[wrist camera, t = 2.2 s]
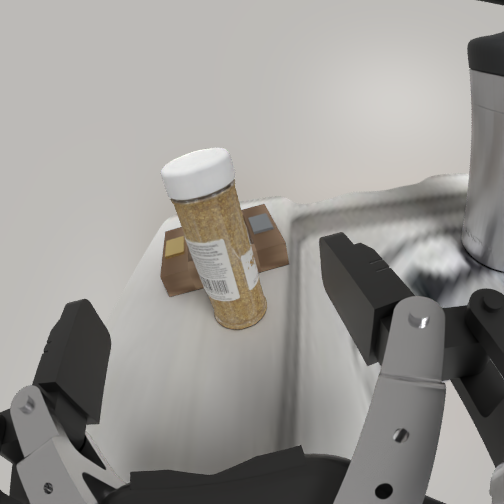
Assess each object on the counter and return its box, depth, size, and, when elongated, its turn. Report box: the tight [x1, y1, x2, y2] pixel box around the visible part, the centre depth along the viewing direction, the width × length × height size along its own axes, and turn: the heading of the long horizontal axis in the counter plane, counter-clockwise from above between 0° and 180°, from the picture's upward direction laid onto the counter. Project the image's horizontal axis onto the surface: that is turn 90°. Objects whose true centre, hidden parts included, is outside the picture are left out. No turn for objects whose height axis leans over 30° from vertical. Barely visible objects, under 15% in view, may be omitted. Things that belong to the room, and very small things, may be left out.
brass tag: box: [165, 236, 185, 259], centre depth 32 cm, size 2×3×1 cm, turn 11°
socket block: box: [160, 204, 289, 297], centre depth 33 cm, size 12×9×2 cm
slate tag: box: [248, 213, 274, 234], centre depth 32 cm, size 2×3×1 cm, turn 11°
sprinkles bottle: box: [161, 148, 267, 329], centre depth 22 cm, size 5×4×14 cm
